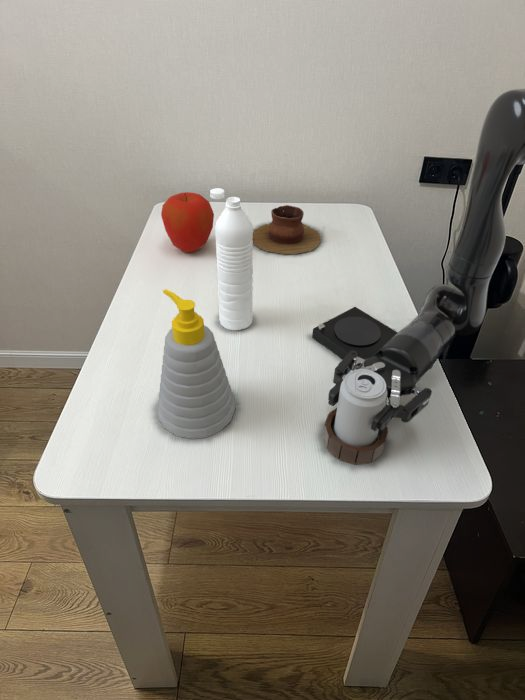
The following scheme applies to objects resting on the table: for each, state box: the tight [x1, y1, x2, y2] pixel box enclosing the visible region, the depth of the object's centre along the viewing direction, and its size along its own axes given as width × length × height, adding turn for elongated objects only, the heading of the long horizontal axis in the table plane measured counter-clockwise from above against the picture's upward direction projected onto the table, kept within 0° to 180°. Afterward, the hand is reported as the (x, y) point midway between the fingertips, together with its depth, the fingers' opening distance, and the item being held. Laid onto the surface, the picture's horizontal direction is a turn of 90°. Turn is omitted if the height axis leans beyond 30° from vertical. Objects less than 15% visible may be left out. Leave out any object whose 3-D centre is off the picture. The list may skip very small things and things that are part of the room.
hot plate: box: [311, 306, 399, 370], centre depth 91 cm, size 12×12×3 cm
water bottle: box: [209, 187, 254, 331], centre depth 89 cm, size 9×6×25 cm
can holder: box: [322, 407, 389, 465], centre depth 73 cm, size 9×9×3 cm
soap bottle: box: [157, 288, 237, 440], centre depth 72 cm, size 12×12×20 cm
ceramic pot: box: [252, 204, 322, 255], centre depth 121 cm, size 18×18×7 cm
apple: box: [160, 191, 215, 254], centre depth 114 cm, size 12×12×14 cm
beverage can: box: [332, 369, 387, 447], centre depth 70 cm, size 6×6×12 cm
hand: (352, 413), depth 67 cm, fingers closed on beverage can, 6 cm apart
